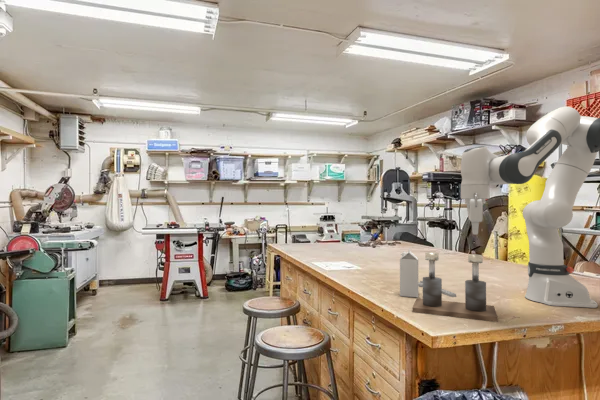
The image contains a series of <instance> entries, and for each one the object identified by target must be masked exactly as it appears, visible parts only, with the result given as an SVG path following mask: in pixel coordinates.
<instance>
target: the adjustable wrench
mask: <svg viewBox="0 0 600 400" xmlns="http://www.w3.org/2000/svg"><path fill="white" fill-rule="evenodd" d="M418 288H423V280H420V281H418ZM442 295H446V297H447V296H448V297H451V298H456V297H457V293H455V292H452V291H451V290H450V291H449V290H446V289H443V288H442Z"/></svg>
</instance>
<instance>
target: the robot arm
mask: <svg viewBox="0 0 600 400" xmlns="http://www.w3.org/2000/svg"><path fill="white" fill-rule="evenodd" d="M526 141H527V143H528V145H529V146H528V147H527V148H525V150H522V151H519V152H515V153H511V154H507V155H506V154H505V155H502V156H499V155H497V154H495V153H493V152H492V151H490V150H489V149H488V147H487V146H484V145H481V146H475V147H470V148H467V149H465V150H464V151H463V152H462V155H461V160H460V176H461V184H460V199H461V200H464V205H465V204H466V211H467V216H468V220H469V221H470V222H471V232H472V235H475V236H477V235H478V234H479V227H480V226H479V225H480V223H482V222H483V221H484V219H483V218H484V215H483V205H484V204H486V200H490V185H492V186H495V185H498V186H499V185H509V184H510V185H524V184H526V183H528V182H529V181H530V180H531V179H532V178H533V177H534V175H535V173H536V172H537V169H538V168H539V167H540V166H541V164H543V163H544V162H545V161H546V160H547V159H548V158H549V157H550V156H551V155H552V154H553V153H554V152H555V151H556V150H557V149H558V148H559V147H560V145H564V146H567V147H566V149H565V150H564V152H562V154H561V155H560V157H559V158H558V160H557V161H556V163H555V165H554V166H553V168H552V170H551V171H550V173H549V175H548V176H547V179H546V180H545V185H544V189H543V190H544V191H543V193H542V196H541V197H540V200H539V199H538V200H537V199H536V200H533V201H530V203H528V204H527V205H525V206H524V208H523V211H522V217H523V219H524V222H525V227H526V232H527V236H528V237H527V238H528V245H529V246H528V247H529V248H528V249H529V253H528V254H529V258H528V259H529V261H528V264H527V275H528V283H527V288H526V289H527V290H526V293H525V295H524V297H525V299H528V300H531V301H533V302H537V303H542V304H545V305H548V306H557V307H573V308H574V307H576V308H589V309H590V308H594V309H595V308H598V305H599V304H598V302H596V301H595V300H594V299H591V298H590V293H589V290H588V288H587V287H586V286H585V285H584V284H583V283H582V282H581V281H579V280H577V279H576V278H575V277H573V276H572V275H571V274H572V273H574V272H575V269H574V268H573V267H571V266H567V265H566V264H564V263H565V262H564V243H563V241H562V239H561V237H560V233H559V229H560V228H563V227H566V226H568V225H569V224H571V222H572V220H573V216H574V214H573V209H574V206H575V202H576V199H577V195H578V194H579V192H580V190H581V188H582V186H583V184H584V183H585V181H586V179H587V177H588V175H589V174H590V172H591V170H592V168H593V166H594V163H595V160H596V157H597V154H598V153H599V152H600V117H593V116H588V115H587V116H585V115H581V114H580V113H579V111H578V110H577V109H576V108H574V107H572V106H560V107H559V108H556V109H554V110H552V111H549V112H547V113H546V114H545V115H543V116H541V118H539V119H538V120H536V121H535V122H534V123H532V125H531V126H530V127H529V128H528V129H527V131H526Z"/></svg>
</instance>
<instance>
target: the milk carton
mask: <svg viewBox="0 0 600 400" xmlns="http://www.w3.org/2000/svg"><path fill="white" fill-rule="evenodd" d="M410 249H411V248H410V247H409V248H408V250H407V252H406V251H403V252H401V253H400V259H399V296H400V297H409V298H419V291H420V290H419V286H418V282H419V257H418V256H416V255H417V254H414V252H412V251H411V250H410Z"/></svg>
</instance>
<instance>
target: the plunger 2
mask: <svg viewBox="0 0 600 400" xmlns="http://www.w3.org/2000/svg"><path fill="white" fill-rule="evenodd" d="M483 257H484V256H483V255H482V254H477V253H476V254H474V253H473V254H468V255H467V259H468V261H467V262H468V263H470V264H471V268H472V269H471V271H472V272H471V274H472V277H471V280H472V281H476V282H478V281H480V278H479V277H480V276H479V275H480V274H479V273H480V272H479V271H480V270H479V269H480V267H479V266H480V264H483V261H484V260H483Z"/></svg>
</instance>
